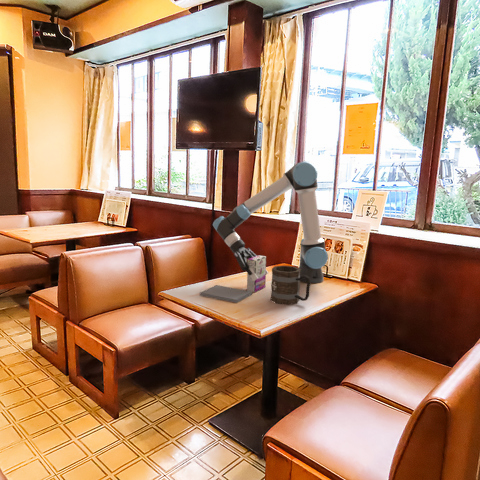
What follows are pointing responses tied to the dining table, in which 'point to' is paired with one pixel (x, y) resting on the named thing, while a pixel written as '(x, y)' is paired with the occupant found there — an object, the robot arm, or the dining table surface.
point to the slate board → (226, 293)
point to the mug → (287, 285)
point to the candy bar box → (257, 273)
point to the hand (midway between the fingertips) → (261, 276)
